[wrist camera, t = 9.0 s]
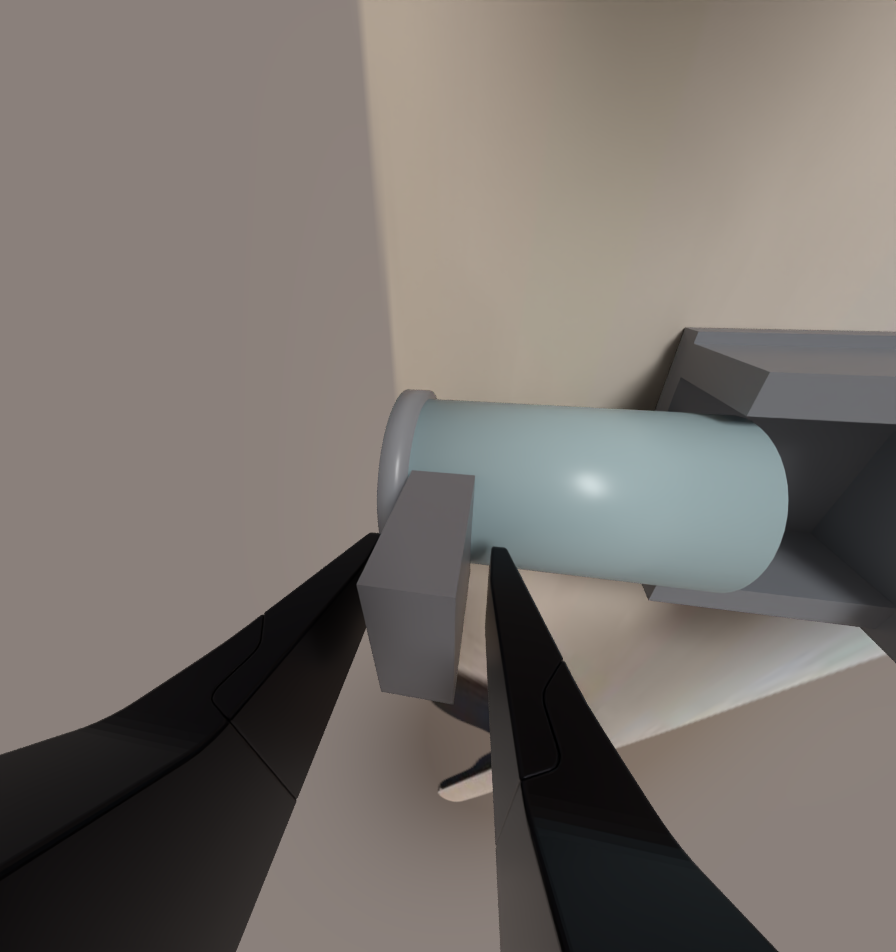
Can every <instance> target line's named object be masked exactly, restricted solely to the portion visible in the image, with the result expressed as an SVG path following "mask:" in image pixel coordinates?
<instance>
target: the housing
mask: <svg viewBox="0 0 896 952" xmlns="http://www.w3.org/2000/svg"><path fill="white" fill-rule="evenodd" d="M655 411H666V412H685V413H703V414H722V415H736V416H740V417H744V418H746V419H748V420H750V421H752V422H753V423H755V424H756V425H757V426H759V427H760V428H761V429H762V430H763V431H764V432H765V433H766V434H767V435H768V436H769V438H770V439H771V441H772V442H773V444H774V445H775V447H776V449H777V451H778V453H779V455H780V457H781V460H782V463H783V466H784V469H785V474H786V479H787V485H788V515H787V521H786V526H785V531H784V534H783V537H782V540H781V543H780V546H779V548H778V550H777V552H776V554H775V556H774V558H773V560H772V561H771V563H770V564H769V566H768V567H767V569H766V570H765V571H764V572H763V573H762V574H761V575H760V576H759V577H758V578H757V579H756V580H755V581H753V582H752V583H751V584H750V585H748V586H746V587H744V588H742V589H740V590H737V591H733V592H728V593H716V592H707V591H699V590H690V589H682V588H674V587H665V586H657V585H649V584H642V586H643V588H644V591H645V593H646V595H647V598H648V600H651V601H659V602H667V603H674V604H682V605H690V606H698V607H706V608H714V609H722V610H730V611H738V612H746V613H754V614H762V615H770V616H778V617H786V618H794V619H802V620H810V621H817V622H825V623H833V624H841V625H849V626H857V627H860V628H861V629H862V630H863V631H864V632H865V633H866V634H867V635H868V636H869V637H870V638H871V639H872V640H873V641H874V642H875V643H876V644H877V645H878V646H879V647H880V648H881V649H882V650H883V651H884V652H885V653H886V654H887V655H888V656H889V657H890V658H891V659H892V660H893V661H894V662H895V663H896V332H877V331H829V330H781V329H733V328H685V330H684V332H683V335H682V338H681V341H680V343H679V346H678V349H677V352H676V354H675V357H674V360H673V363H672V365H671V368H670V371H669V373H668V376H667V379H666V382H665V384H664V387H663V390H662V393H661V395H660V398H659V401H658V404H657V406H656V409H655Z"/></svg>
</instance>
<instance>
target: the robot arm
mask: <svg viewBox="0 0 896 952" xmlns="http://www.w3.org/2000/svg"><path fill="white" fill-rule="evenodd" d="M380 535H381V533H369V534H368V535H366V536H365V537H363V538H362V539H361V540H359V541H358V542H357V543H355V544H354V545H353V546H352V547H350V548H349V549H348V550H346V551H345V552H344V553H343V554H341V555H340V556H338V557H337V558H336V559H334V560H333V561H332V562H330V563H329V564H328V565H327V566H325V567H324V568H323V569H321V570H320V571H319V572H317V573H316V574H315V575H313V576H312V577H311V578H309V579H308V580H307V581H305V582H304V583H303V584H302V585H300V586H299V587H298V588H296V589H295V590H294V591H292V592H291V593H290V594H289V595H287V596H286V597H284V598H283V599H282V600H281V601H279V602H278V603H277V604H275V605H274V606H273V607H271V608H270V609H269V610H268V611H266V612H265V613H264V615H261V616H259V617H258V618H257V619H255V620H254V621H253V622H251V623H250V624H249V625H247V626H246V627H245V628H243V629H242V630H241V631H239V632H238V633H237V634H235V635H234V636H233V637H231V638H230V639H228V640H227V641H225V642H224V643H223V644H221V645H220V646H218V647H217V648H215V649H214V650H212V651H211V652H209V653H208V654H206V655H205V656H203V657H202V658H200V659H199V660H198V661H196V662H194V663H193V664H191V665H190V666H188V667H187V668H185V669H184V670H182V671H181V672H180V673H178V674H176V675H175V676H173V677H172V678H170V679H169V680H167V681H166V682H164V683H162V684H161V685H159V686H158V687H156V688H155V689H153V690H152V691H150V692H149V693H147V694H146V695H144V696H143V697H141V698H140V699H138V700H137V701H135V702H133V703H132V704H130V705H128V706H127V707H125V708H124V709H122V710H120V711H118V712H116V713H114V714H113V715H111V716H109V717H107V718H104V719H102V720H100V721H98V722H96V723H93V724H91V725H89V726H86V727H84V728H80V729H78V730H75V731H72V732H69V733H66V734H62V735H60V736H56V737H53V738H50V739H47V740H44V741H41V742H38V743H35V744H32V745H29V746H26V747H23V748H20V749H17V750H14V751H10V752H7V753H4V754H1V755H0V952H236V950H237V948H238V945H239V943H240V940H241V938H242V935H243V933H244V930H245V928H246V925H247V923H248V921H249V918H250V916H251V913H252V911H253V908H254V906H255V903H256V901H257V898H258V896H259V893H260V891H261V888H262V886H263V883H264V881H265V878H266V876H267V873H268V871H269V868H270V866H271V863H272V861H273V858H274V856H275V853H276V851H277V848H278V846H279V843H280V841H281V838H282V836H283V833H284V831H285V828H286V826H287V824H288V821H289V818H290V816H291V813H292V811H293V809H294V806H295V804H296V799H297V798H298V796H299V793H300V791H301V788H302V786H303V783H304V781H305V778H306V776H307V773H308V771H309V768H310V766H311V763H312V761H313V758H314V756H315V753H316V751H317V749H318V746H319V744H320V741H321V739H322V736H323V734H324V731H325V729H326V726H327V724H328V721H329V719H330V716H331V714H332V711H333V709H334V706H335V704H336V701H337V699H338V696H339V694H340V691H341V689H342V686H343V684H344V681H345V679H346V676H347V674H348V672H349V669H350V666H351V664H352V661H353V659H354V657H355V654H356V652H357V649H358V647H359V644H360V642H361V639H362V636H363V634H364V632H365V629H366V624H365V619H364V615H363V611H362V606H361V602H360V598H359V593H358V589H357V585H356V584H357V582H358V580H359V578H360V576H361V574H362V572H363V570H364V568H365V566H366V564H367V562H368V560H369V558H370V555H371V553H372V551H373V549H374V547H375V545H376V543H377V541H378V539H379V537H380ZM485 638H486V658H487V679H488V700H489V720H490V741H491V762H492V783H493V803H494V822H495V823H494V824H495V842H496V843H495V844H496V865H497V887H498V908H499V927H500V928H499V929H500V949H501V952H778V951H777V950H776V949H775V948H774V946H773V945H772V944H771V943H770V942H769V941H768V940H767V939H766V938H765V937H764V936H763V935H762V934H761V933H760V932H759V931H758V930H757V929H756V928H755V926H754V925H753V924H752V923H751V922H750V921H749V920H748V919H747V918H746V917H745V916H744V915H743V914H742V913H741V912H740V911H739V910H738V909H737V908H736V907H735V905H734V904H732V902H731V901H730V900H729V899H728V898H727V897H726V896H725V895H724V894H723V893H722V892H721V891H720V890H719V889H718V888H717V887H716V886H715V884H714V883H712V881H711V880H710V879H709V878H708V877H707V876H706V875H705V874H704V873H703V872H702V871H701V870H700V869H699V867H698V866H697V865H696V864H695V863H694V862H693V861H692V860H691V858H690V857H689V856H688V855H687V854H686V853H685V851H684V850H683V849H682V848H681V846H680V845H679V844H678V843H677V841H676V840H675V839H674V837H673V836H672V835H671V833H670V832H669V831H668V829H667V828H666V826H665V825H664V824H663V822H662V821H661V819H660V818H659V816H658V815H657V813H656V812H655V810H654V809H653V807H652V806H651V804H650V802H649V801H648V799H647V798H646V796H645V795H644V793H643V791H642V790H641V788H640V787H639V785H638V784H637V782H636V781H635V779H634V777H633V776H632V774H631V773H630V771H629V769H628V768H627V766H626V765H625V763H624V762H623V760H622V759H621V757H620V755H619V754H618V752H617V751H616V749H615V748H614V746H613V744H612V743H611V741H610V740H609V738H608V737H607V735H606V734H605V732H604V730H603V729H602V727H601V725H600V724H599V722H598V720H597V719H596V717H595V716H594V714H593V712H592V711H591V709H590V707H589V706H588V704H587V702H586V700H585V699H584V697H583V695H582V693H581V691H580V690H579V688H578V686H577V684H576V682H575V680H574V679H573V677H572V675H571V673H570V671H569V669H568V667H567V665H566V663H565V662H564V661H563V657H562V655H561V653H560V651H559V650H558V648H557V646H556V644H555V642H554V640H553V638H552V636H551V634H550V632H549V630H548V628H547V626H546V624H545V622H544V620H543V618H542V616H541V614H540V612H539V610H538V608H537V607H536V605H535V603H534V601H533V599H532V597H531V595H530V593H529V591H528V589H527V587H526V585H525V583H524V581H523V579H522V577H521V575H520V573H519V571H518V569H517V567H516V565H515V564H514V562H513V560H512V558H511V556H510V554H509V552H508V550H507V549H506V548H505V547H497V546H493V547H492V548H491V555H490V565H489V576H488V590H487V604H486V619H485Z"/></svg>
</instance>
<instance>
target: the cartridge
mask: <svg viewBox="0 0 896 952" xmlns="http://www.w3.org/2000/svg"><path fill="white" fill-rule="evenodd" d="M377 514H378V527H379V533H381V535H380V537H379V539H378V541H377V543H376V545H375V547H374V549H373V551H372V553H371V555H370V558H369V560H368V562H367V564H366V566H365V568H364V570H363V572H362V574H361V576H360V578H359V580H358V582H357V584H356V585H357V589H358V593H359V598H360V602H361V606H362V611H363V615H364V619H365V624H366V628H367V632H368V636H369V641H370V645H371V649H372V654H373V658H374V662H375V666H376V671H377V675H378V680H379V683H380V688H381V691H382V692H387V693H393V694H398V695H403V696H409V697H415V698H421V699H426V700H431V701H437V702H442V703H448V704H454V696H455V688H456V680H457V672H458V664H459V656H460V648H461V640H462V632H463V624H464V616H465V608H466V600H467V592H468V584H469V576H470V563H473V564H482V565H490V555H491V548H492V547H493V546H497V547H505V548H506V549H507V550H508V552H509V554H510V556H511V558H512V560H513V562H514V564H515V565H516V567H517V569H523V570H532V571H540V572H548V573H557V574H565V575H573V576H582V577H590V578H599V579H607V580H615V581H624V582H632V583H640V584H649V585H657V586H665V587H674V588H682V589H690V590H699V591H707V592H716V593H728V592H733V591H737V590H740V589H742V588H744V587H746V586H748V585H750V584H751V583H752V582H753V581H755V580H756V579H757V578H758V577H759V576H760V575H761V574H762V573H763V572H764V571H765V570H766V569H767V567H768V566H769V564H770V563H771V561H772V560H773V558H774V556H775V554H776V552H777V550H778V548H779V546H780V543H781V540H782V537H783V534H784V531H785V526H786V521H787V515H788V485H787V479H786V474H785V469H784V466H783V463H782V460H781V457H780V455H779V453H778V451H777V449H776V447H775V445H774V444H773V442H772V441H771V439H770V438H769V436H768V435H767V434H766V433H765V432H764V431H763V430H762V429H761V428H760V427H759V426H757V425H756V424H755V423H753V422H752V421H750V420H748V419H746V418H744V417H740V416H736V415H722V414H703V413H685V412H666V411H647V410H628V409H609V408H590V407H571V406H553V405H534V404H515V403H496V402H477V401H458V400H439V399H437V398H436V395H435V394H434V392H432V391H430V390H410V389H407V390H405V391H403V392H402V393H401V394H400V396H399V397H398V398H397V400H396V402H395V404H394V406H393V408H392V411H391V413H390V416H389V420H388V423H387V426H386V431H385V434H384V439H383V444H382V450H381V456H380V463H379V473H378V490H377Z"/></svg>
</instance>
